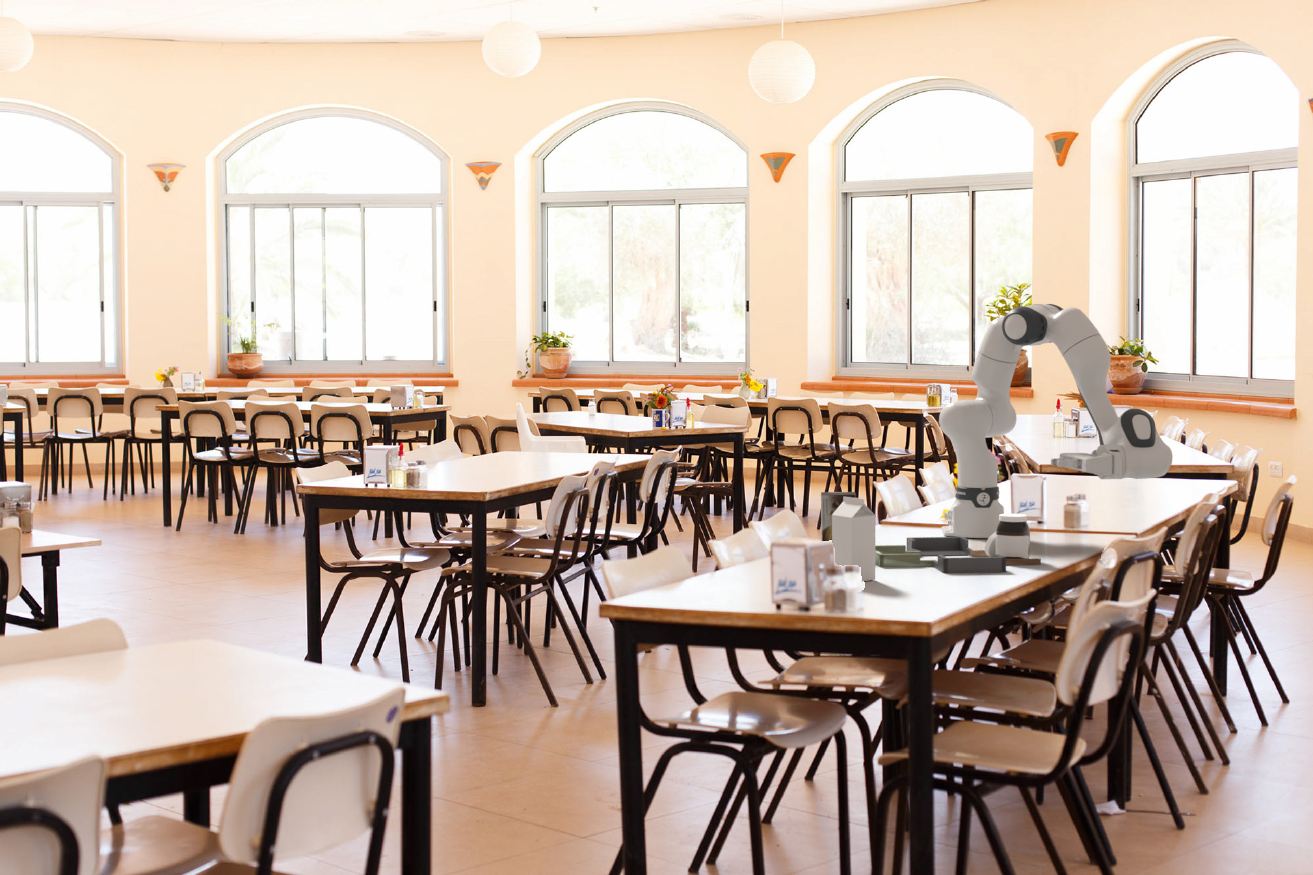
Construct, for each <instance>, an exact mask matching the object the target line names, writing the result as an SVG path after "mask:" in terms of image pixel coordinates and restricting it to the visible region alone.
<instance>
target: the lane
mask: <svg viewBox="0 0 1313 875" xmlns="http://www.w3.org/2000/svg"><path fill="white" fill-rule="evenodd" d="M921 557H922V556H921V551H907V545H905V544H899V545H898V544H896V545H895V544H893V545H891V544H890V545H889V544H887V545H886V544H885V545H881V544H880V545H879V544H878V545H876V544H875V566H878V567H879V568H891V567H892V568H893V567H894V568H896V567H897V568H903V567H933V566H932V561H935V560H936V559H921ZM969 557H989V556H988V555H987V554H986V553H985V549H984V550H983V549H981V550H978V549H976V550H974V549H972V550H970V556H969ZM1041 564H1042V559H1041V558H1029V559H1006V566H1038V565H1041Z"/></svg>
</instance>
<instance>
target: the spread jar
mask: <svg viewBox="0 0 1313 875" xmlns="http://www.w3.org/2000/svg"><path fill="white" fill-rule="evenodd" d="M999 520H1000V522H999V524H998V526H997V530H996V532H995V533H993V534H992V535H991V536H990V537H989V538H987V540H986V543H984V544H985V545H984V550H985V553H986V554H987V555H988V556H987V557H995V554H1000V555H1002V556H1004V557H1006V559H1030V552H1031V531H1030V529H1031V528H1030V526H1029V524H1028V515H1027V514H1024V513H1004V514H1000V515H999Z"/></svg>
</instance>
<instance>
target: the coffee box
mask: <svg viewBox="0 0 1313 875" xmlns="http://www.w3.org/2000/svg"><path fill="white" fill-rule="evenodd" d="M843 497H852V498H857V494H856V492H855V491H821V492H820V518H821V519H820V522H821V523H820V527H821V528H820V532H821V538H820V539H821V541H829V540H832V514H833V513H834V512H835V510H836V509H837V508H838V507H839V506H840V505H841V503H842V502H843Z"/></svg>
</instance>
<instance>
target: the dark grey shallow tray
mask: <svg viewBox="0 0 1313 875" xmlns="http://www.w3.org/2000/svg"><path fill="white" fill-rule="evenodd" d="M934 560H935V561H932V566H931V567H932V568H935V569H936V570H938V571H939V572H941V573H943V574H962V573H963V574H967V573H968V574H969V573H970V574H971V573H972V574H973V573H975V574H976V573H979V574H980V573H1007V565H1006V557H1004V556H1002V555H1000V554H995V557H990V556H966V557H963V556H962V557H947V556H943V555H938V556H937V559H934Z"/></svg>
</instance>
